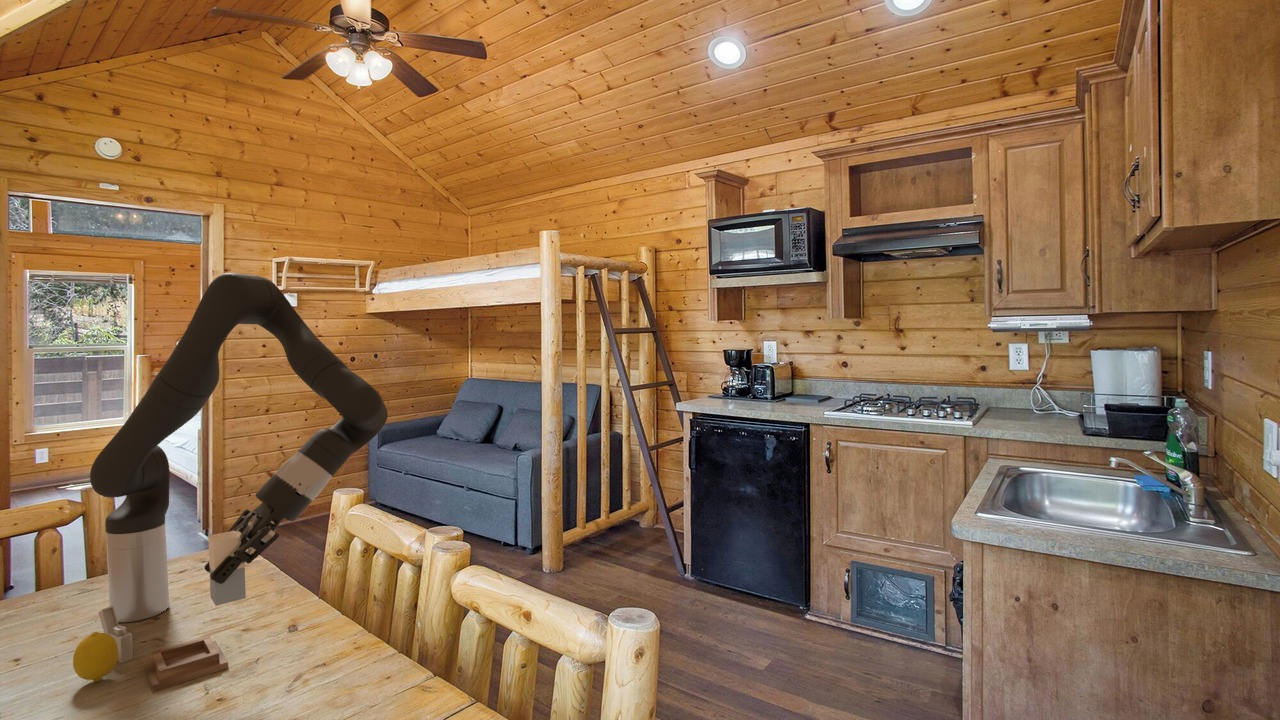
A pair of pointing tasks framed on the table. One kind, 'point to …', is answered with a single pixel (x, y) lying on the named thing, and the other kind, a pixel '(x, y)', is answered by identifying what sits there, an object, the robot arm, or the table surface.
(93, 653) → the lemon
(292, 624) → the table surface
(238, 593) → the brick block
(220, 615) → the table surface
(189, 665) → the socket board
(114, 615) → the lighter
